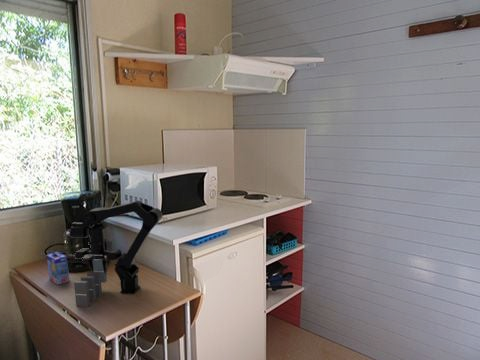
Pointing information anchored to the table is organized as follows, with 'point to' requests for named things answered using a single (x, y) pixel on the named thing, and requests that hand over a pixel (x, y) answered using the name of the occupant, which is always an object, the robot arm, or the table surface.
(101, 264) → the domino
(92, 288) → the domino
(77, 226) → the robot arm
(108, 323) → the table surface
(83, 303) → the domino
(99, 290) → the domino
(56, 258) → the ink cartridge box
